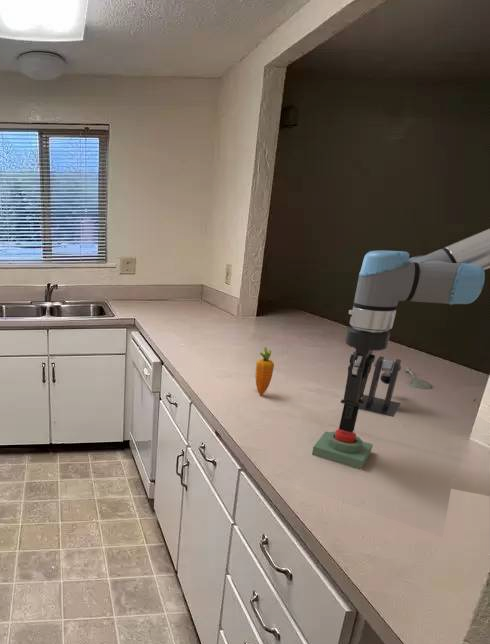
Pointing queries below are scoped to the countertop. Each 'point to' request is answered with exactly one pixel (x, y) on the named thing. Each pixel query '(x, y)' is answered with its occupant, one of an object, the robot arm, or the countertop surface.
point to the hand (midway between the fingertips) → (346, 429)
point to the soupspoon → (417, 381)
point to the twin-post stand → (386, 405)
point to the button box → (342, 450)
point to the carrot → (264, 372)
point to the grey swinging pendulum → (387, 371)
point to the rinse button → (345, 436)
